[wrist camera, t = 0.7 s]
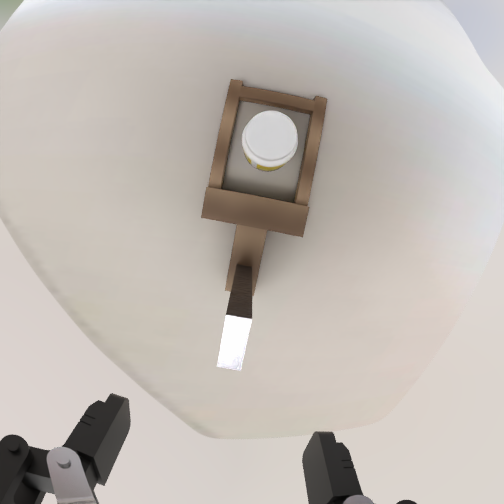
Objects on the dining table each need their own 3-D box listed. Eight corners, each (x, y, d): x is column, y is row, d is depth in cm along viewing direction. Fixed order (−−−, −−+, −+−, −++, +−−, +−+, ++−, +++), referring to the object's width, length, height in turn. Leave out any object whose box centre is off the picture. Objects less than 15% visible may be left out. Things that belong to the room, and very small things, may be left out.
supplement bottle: (298, 146, 29) (315, 131, 20) (271, 180, 29) (278, 177, 21) (262, 119, 28) (265, 94, 20) (234, 153, 29) (227, 140, 21)
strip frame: (231, 84, 27) (217, 14, 13) (323, 102, 27) (372, 48, 14) (194, 286, 32) (156, 353, 18) (282, 302, 32) (300, 378, 18)
